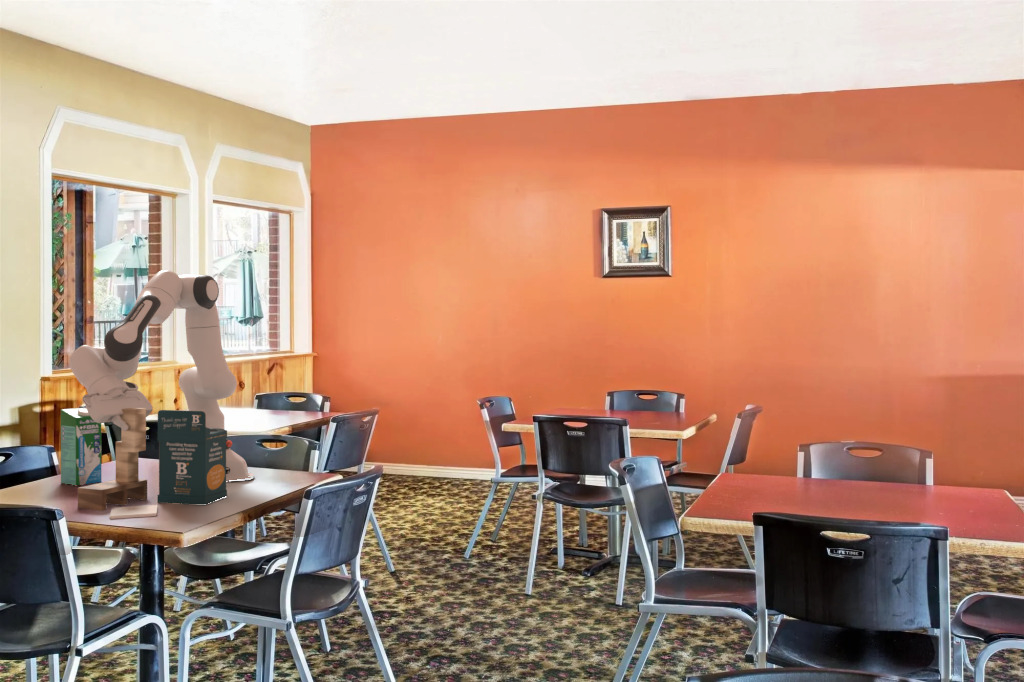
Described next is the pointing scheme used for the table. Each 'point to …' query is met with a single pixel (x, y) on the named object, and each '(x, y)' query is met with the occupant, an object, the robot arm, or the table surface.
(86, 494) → the walnut shelf
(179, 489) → the donation box
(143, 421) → the block
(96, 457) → the milk carton
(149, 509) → the ceramic tile
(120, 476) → the block
